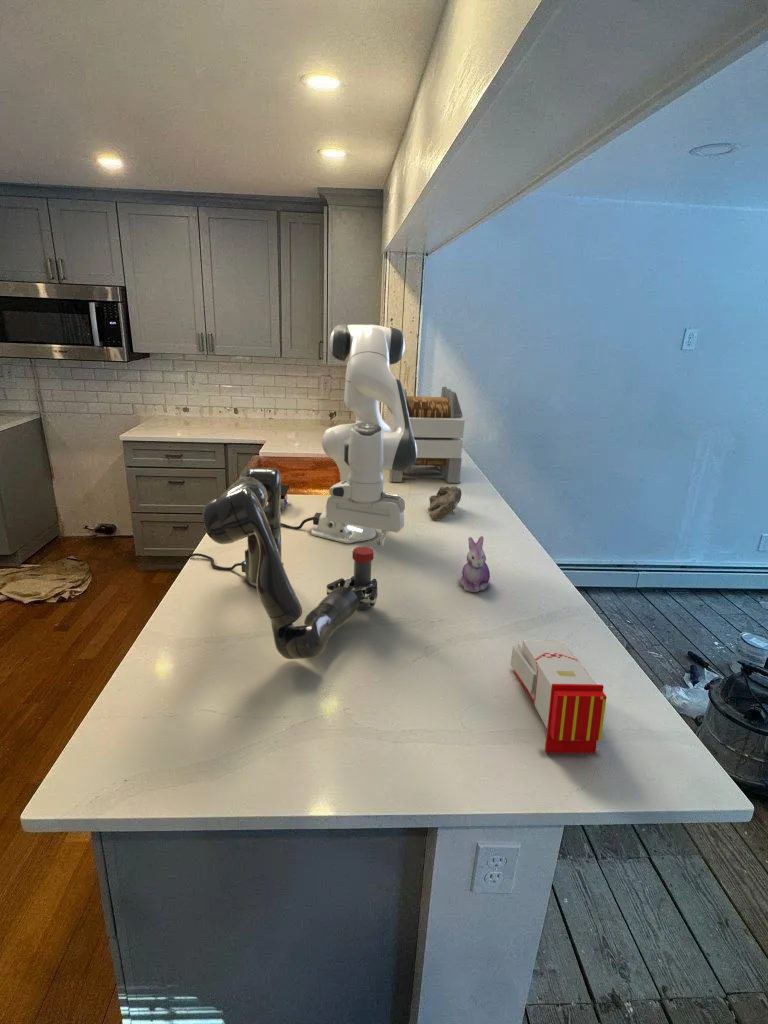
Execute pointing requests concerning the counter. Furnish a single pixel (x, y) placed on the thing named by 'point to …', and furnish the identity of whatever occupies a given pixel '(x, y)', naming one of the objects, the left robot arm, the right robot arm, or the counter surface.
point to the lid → (363, 554)
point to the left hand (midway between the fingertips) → (366, 579)
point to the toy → (561, 695)
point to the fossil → (444, 502)
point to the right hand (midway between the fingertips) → (364, 541)
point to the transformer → (434, 433)
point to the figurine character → (283, 496)
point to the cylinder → (362, 578)
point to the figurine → (475, 568)
